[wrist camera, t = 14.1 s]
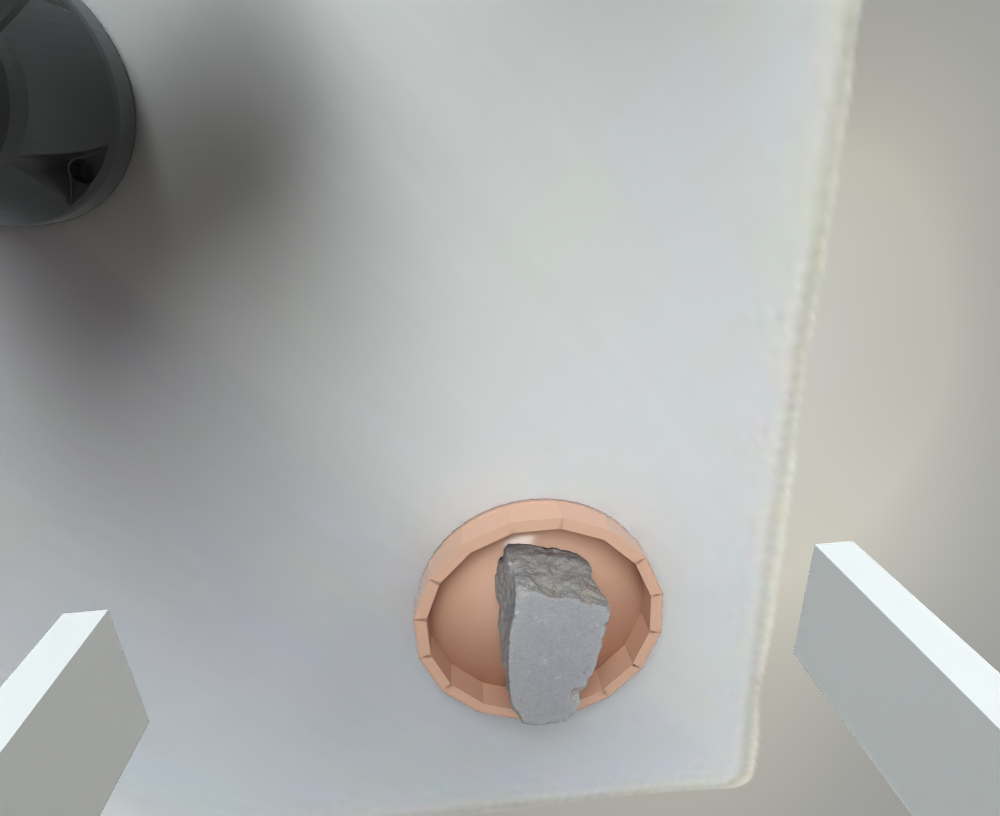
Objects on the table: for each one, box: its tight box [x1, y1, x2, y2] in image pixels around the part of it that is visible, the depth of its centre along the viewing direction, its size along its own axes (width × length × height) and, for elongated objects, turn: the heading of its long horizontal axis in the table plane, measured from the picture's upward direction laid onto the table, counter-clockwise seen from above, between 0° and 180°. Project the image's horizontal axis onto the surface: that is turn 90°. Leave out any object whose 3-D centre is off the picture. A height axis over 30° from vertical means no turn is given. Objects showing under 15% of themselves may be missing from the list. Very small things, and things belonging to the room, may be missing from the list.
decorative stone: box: [495, 543, 610, 725], centre depth 49 cm, size 15×7×10 cm
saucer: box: [414, 499, 663, 719], centre depth 51 cm, size 21×21×3 cm
